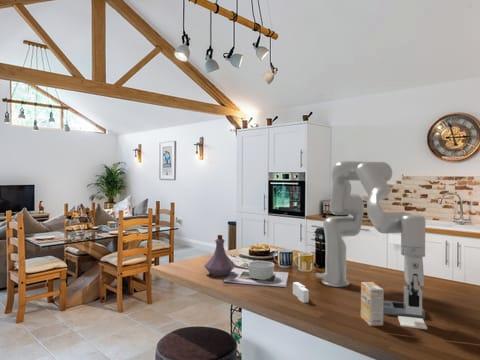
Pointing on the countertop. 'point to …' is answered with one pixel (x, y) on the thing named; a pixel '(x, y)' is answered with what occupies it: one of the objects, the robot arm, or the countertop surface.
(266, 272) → the ramekin
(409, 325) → the coaster
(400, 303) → the grey recessed block
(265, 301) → the countertop surface
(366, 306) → the supplement box
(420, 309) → the grey rectangular block
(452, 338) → the countertop surface
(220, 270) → the flask
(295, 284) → the white double box
